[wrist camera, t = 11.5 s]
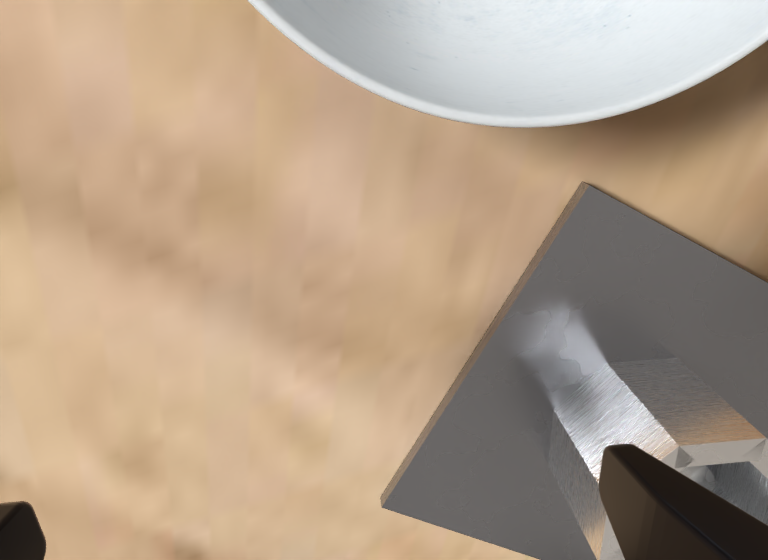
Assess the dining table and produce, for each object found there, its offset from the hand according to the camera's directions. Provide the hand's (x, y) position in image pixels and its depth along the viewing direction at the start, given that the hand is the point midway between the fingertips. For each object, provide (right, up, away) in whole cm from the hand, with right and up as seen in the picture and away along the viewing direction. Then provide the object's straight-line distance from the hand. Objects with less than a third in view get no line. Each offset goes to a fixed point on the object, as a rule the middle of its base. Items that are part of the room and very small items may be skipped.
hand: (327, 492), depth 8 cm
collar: (+11, -3, +15) cm, 19 cm away
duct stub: (+11, -3, +15) cm, 19 cm away
